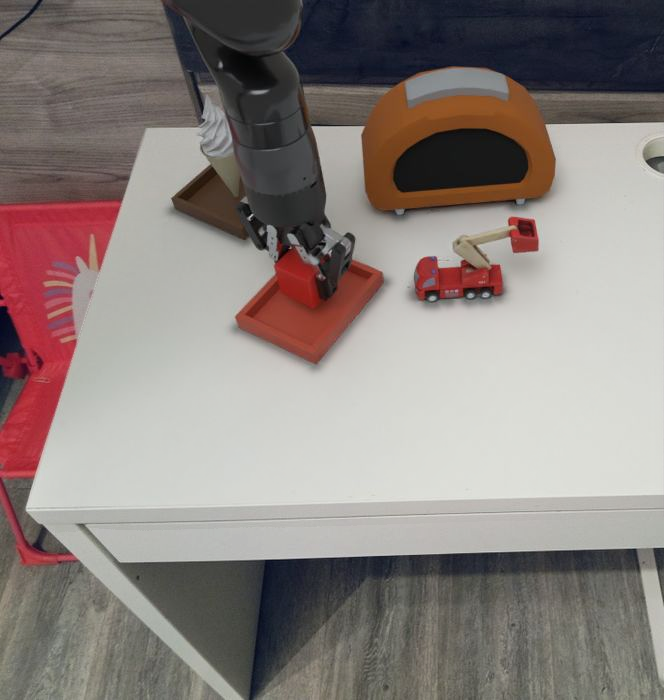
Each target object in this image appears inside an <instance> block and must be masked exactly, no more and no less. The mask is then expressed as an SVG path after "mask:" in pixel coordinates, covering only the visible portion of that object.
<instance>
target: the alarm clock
mask: <svg viewBox="0 0 664 700" xmlns="http://www.w3.org/2000/svg"><path fill="white" fill-rule="evenodd" d="M360 137H361V148H362V149H361V150H362V163H363V165H362V166H363V178H364V191H365V192H364V193H365V194H366V197H367V199H368V201H369V204H370V206H371V207H373V208H376V209H378V210H380V211H393V210H394V212H395V213H396V215H397V216H400V215H404V213H405V210H406V209H407V210H408V209H418V208H429V207H431V208H432V207H441V206H453V205H454V206H455V205H463V204H464V205H466V204H478V203H488V202H499V201H502V202H503V201H511V200H512V201H513V200H514V201H515V202H516V205H517V206H518V205H524V203H525V201H526V199H535V198H541V197H542V196H544V195H545V194H546V193H548V192H550V190H551V187H552V185H553V182H554V179H555V176H556V162H557V159H556V155H555V151H554V149H553V144H552V142H551V138H550V134H549V133H548V129H547V125H546V122H545V119H544V117H543V115H542V113H541V111H540V109H539V107H538V104H537V102H536V101H535V99H534V98H533V96H532V95H531V94H530V93H529V91H528V90H527V89H526V87H525V86H524V85H522V84H520V83H518V82H517V81H515V80H514V79H512V78H511V77H509V76H508V75H505V74H503V73H500V72H498V71H495V70H492V69H490V68H487V67H473V66H447V67H443V68H437V69H433V70H432V69H431V70H426V71H420V72H418V73H416V74H414V75H413V76H410V77H408V78H407V79H405V80H403V81H401V82H399V83H398V84H396V85H395V86H393V87H392V88H391V89H390V90H388V91H387V92H385V93H384V94H382V96H381V97H380V99H379V100H378V101H377V102H376V104H375V105H374V107H373V108H372V110H371V111H370V113H369V115H368V118H367V120H366V123H365V125H364V127H363V130H362V132H361V135H360Z"/></svg>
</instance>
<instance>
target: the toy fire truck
mask: <svg viewBox="0 0 664 700" xmlns="http://www.w3.org/2000/svg"><path fill="white" fill-rule="evenodd" d="M507 225H508V226H505V227H502V228H496V229H493V230H488V231H485V232H479V233H477V234H471V235H469V236H468V235H467V234H462V235H460V236H459V237H458V238H456V239H454V240H453V241H452V251H453V253H454V254H456V255H458V256H459V257H461V258H462V259H461V260H460V266H450V267H449V266H448V267H439V263H438V256H436V255H432V256H430V255H429V256H424V257H422V258H420V259H419V261H418V262H417V264H416V266H415V269H414V272H413V281H414V282H413V283H414V288H415V289H414V290H415V294H416V297H417V298H418V300H425V299H426V300H427V302H429V303H434V302H437V301H438V300H439V299H451V298H462V297H465V298H466V299H467V300H474V299H475V298H477V296H478V294H479V297H480V298H481V299H485V300H486V299H490V298H491V297H492V295H494V296H499V295H502V294H503V286H504V280H503V275H502V267H501V264H499V263H498V264H490V263H491V262H492V261H491V259H490V258H489V256H487V254H486V253H484V252H483V250H482V249H481V248H480V247H479V246H480V245H482V244H486V243H491V242H496V241H499V240H503V239H507V238H510V245H511V247H512V248H511V249H512V253H513V254H521V253H535V252H539V244H540V243H539V242H540V241H539V235H538V229H537V223H536V219H533V218H526V217H519V216H509V217H508V219H507ZM478 245H479V246H478Z"/></svg>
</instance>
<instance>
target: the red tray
mask: <svg viewBox="0 0 664 700" xmlns="http://www.w3.org/2000/svg"><path fill="white" fill-rule="evenodd" d="M384 281H385V280H384V275H383V271H382V270H379V269H376V268H374V267H372V266H370V265H367V264H365V263H363V262H360V261H358V260H356V259H353V258H352V261H351V266H350V268H349V269H348V271H346V272H345V273H344V274H343V276H342V277H341V278H340V280H339V281H338V282H337V285H338V290H337V291H336V292H335V293H334V294H333V296H332V297H331V298H329V299H328V300H327V301H324V300H321V301H320V303H319V304H318V305H317V306H316V307H315V308H312V307H310V306H308V305H305V304H303V303H301V302H299V301H297V300H294V299H292V298H290V297H288V296H286V295H283V294H282V293H281V290H280V286H279V283H278V280H277V276H276V273H275V274H274V275H272V277H271V278H270V279H269V280H268V281H267V282H266V283H265V284H264V285H263V286H262V287H261V288H260V289H259V290H258V291H257V293H256V294H255V295H254V296H253V297H252V298H251V299H249V301H248V302H247V303H246V304H245V305H244V306H243V307H242V308H241V309H240V310H239V311H238V313H236V315H235V316H234V319H235V322H236V324H237V327H238V328H239V329H242V330H243V331H246V332H248V333H250V334H252V335H254V336H256V337H258V338H260V339H262V340H264V341H267V342H269V343H271V344H273V345H274V346H277V347H279V348H281V349H283V350H285V351H287V352H289V353H292V354H294V355H296V356H298V357H300V358H302V359H304V360H306V361H308V362H310V363H312V364H314V365H317V364H318V362H320V360H321V359H322V357H323V356H324V355H325V354H326V353H327V352H328V351H329V350H330V348H331V347H332V345H334V343H335V342H336V341H337V340H338V338H340V336H341V335H342V333H343V332H344V331H345V330H346V329H347V327H348V326H349V325H350V324H351V323H352V321H353V320H354V319H355V318H356V317H357V316H358V314H359V313H360V312H361V311H362V310H363V308H364V307H365V306H366V305H367V304H368V302H369V301H370V300H371V299H372V298H373V296H374V295H375V294H376V293H377V291H378V290H379V289H380V288H381V287H382V286H383V284H384V283H385V282H384Z"/></svg>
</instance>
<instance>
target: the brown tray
mask: <svg viewBox="0 0 664 700" xmlns="http://www.w3.org/2000/svg"><path fill="white" fill-rule="evenodd" d="M245 196H246V193H245V189H244V186H243V183H242V180H241V176H240V183H239V197H235V196H234V195H233V193H232V192H231V191H230V189H229V188H228V187H227V185H226V184H225V183H224V181H223V180H222V179H221V177H220V176H219V174H218V173H217V172H216V170H215V169H214V168H213V166H212V165H211V163H210V164H209V165H207V167H205V168H204V169H203V170H201V172H199V173H198V174H197V175H196V176H195V177H193V178H192V179H191V180H190V181H189V182H188V183H187V184H186V185H184V186H183V187H182V188H181V189H180V190H178V192H176V193H175V194H174V195H173V196H172V197H171V198H170V200H171V202H172V205H173V209H174V210H176V211H178V212H179V213H182V214H185V215H187V216H189V217H191V218H194V219H195V220H198V221H201V222H203V223H205V224H207V225H209V226H212V227H214V228H217V229H219V230H221V231H224V232H226V233H228V234H230V235H233V236H235V237H237V238H240V239H242V240H244V241H245V240H247V238H249V237H250V236H249V234H248V232H247V231H246V229H245V227H244V225H243V223H242V222H241V220H240V218H239V216H238V214H237V213H236V211H235V209H234V207H235V206H236V205H237V204H238V203H239V202H240V201H241V200H242V199H243V198H244V197H245Z"/></svg>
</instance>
